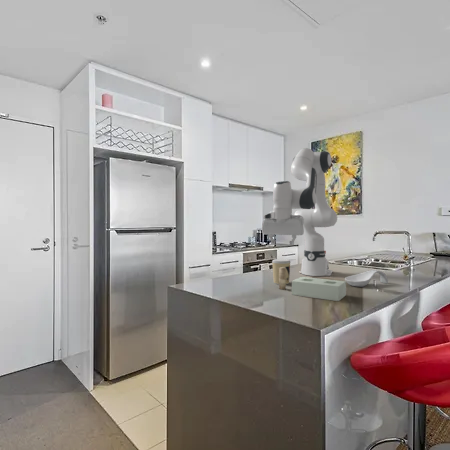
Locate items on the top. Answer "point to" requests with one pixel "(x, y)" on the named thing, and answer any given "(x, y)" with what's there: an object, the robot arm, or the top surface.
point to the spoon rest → (365, 278)
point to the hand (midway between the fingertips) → (282, 244)
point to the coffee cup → (278, 264)
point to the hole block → (319, 288)
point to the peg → (282, 278)
